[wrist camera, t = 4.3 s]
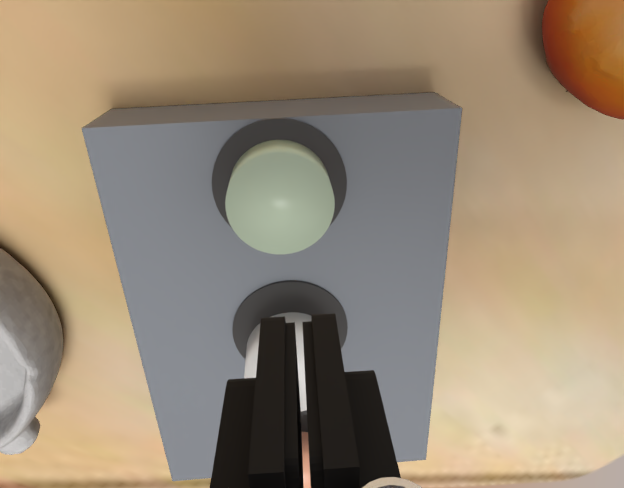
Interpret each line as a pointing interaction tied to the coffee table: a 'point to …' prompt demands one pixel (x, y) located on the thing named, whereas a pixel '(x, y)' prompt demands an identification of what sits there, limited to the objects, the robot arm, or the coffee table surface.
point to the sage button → (279, 197)
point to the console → (279, 267)
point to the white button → (298, 319)
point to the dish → (25, 354)
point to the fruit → (587, 51)
